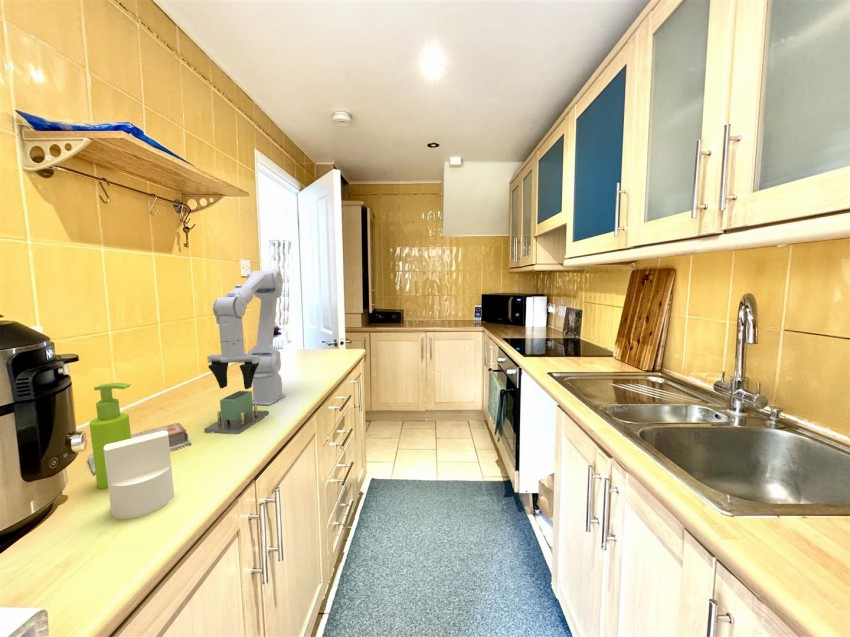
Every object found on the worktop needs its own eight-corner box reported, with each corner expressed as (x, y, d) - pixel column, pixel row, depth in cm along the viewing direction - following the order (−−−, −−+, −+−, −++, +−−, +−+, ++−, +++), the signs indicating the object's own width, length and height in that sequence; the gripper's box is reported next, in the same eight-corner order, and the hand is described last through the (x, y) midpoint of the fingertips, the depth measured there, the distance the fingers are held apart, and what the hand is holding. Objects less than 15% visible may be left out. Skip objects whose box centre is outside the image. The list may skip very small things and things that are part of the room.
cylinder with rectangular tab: (170, 483, 72) (164, 425, 70) (178, 503, 65) (171, 439, 64) (110, 502, 65) (103, 439, 64) (112, 526, 59) (104, 457, 58)
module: (240, 409, 105) (239, 389, 105) (253, 409, 105) (251, 390, 104) (221, 419, 98) (219, 399, 97) (234, 420, 97) (233, 399, 96)
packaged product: (178, 418, 94) (190, 428, 88) (180, 435, 95) (191, 447, 88) (85, 441, 81) (90, 455, 74) (87, 462, 81) (93, 477, 75)
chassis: (238, 412, 109) (237, 399, 109) (269, 414, 108) (268, 400, 107) (204, 432, 95) (203, 417, 95) (238, 434, 94) (237, 418, 94)
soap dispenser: (129, 486, 71) (117, 387, 68) (89, 490, 69) (76, 390, 67) (147, 470, 76) (137, 379, 74) (110, 474, 75) (99, 381, 73)
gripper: (197, 342, 96) (201, 391, 98) (246, 342, 94) (250, 392, 96) (216, 338, 103) (220, 383, 105) (262, 338, 101) (266, 385, 103)
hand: (235, 387), depth 101 cm, fingers open, 7 cm apart
